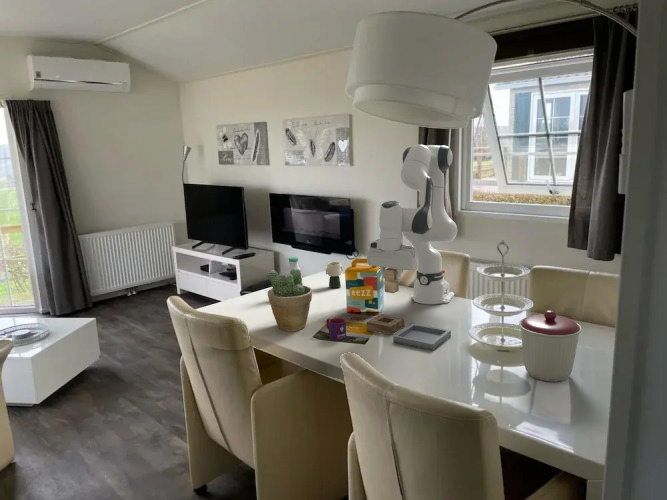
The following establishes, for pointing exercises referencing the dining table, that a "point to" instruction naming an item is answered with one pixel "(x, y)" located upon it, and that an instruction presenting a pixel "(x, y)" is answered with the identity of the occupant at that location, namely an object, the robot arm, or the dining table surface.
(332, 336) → the cup
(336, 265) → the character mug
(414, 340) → the tray
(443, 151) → the robot arm
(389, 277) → the peg
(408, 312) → the dining table surface
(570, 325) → the canister
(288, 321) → the potted plant
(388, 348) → the dining table surface
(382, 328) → the collar
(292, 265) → the milk bottle
